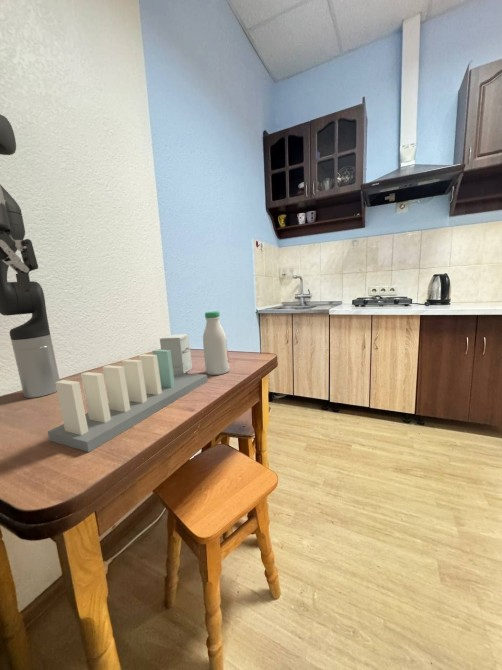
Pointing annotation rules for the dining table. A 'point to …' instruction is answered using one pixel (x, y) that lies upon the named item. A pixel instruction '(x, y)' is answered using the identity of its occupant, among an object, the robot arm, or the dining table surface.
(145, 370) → the domino
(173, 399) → the board
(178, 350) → the supplement box
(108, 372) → the domino
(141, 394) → the domino
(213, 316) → the milk bottle
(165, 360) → the domino
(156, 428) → the dining table surface
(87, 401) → the domino
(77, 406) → the domino
